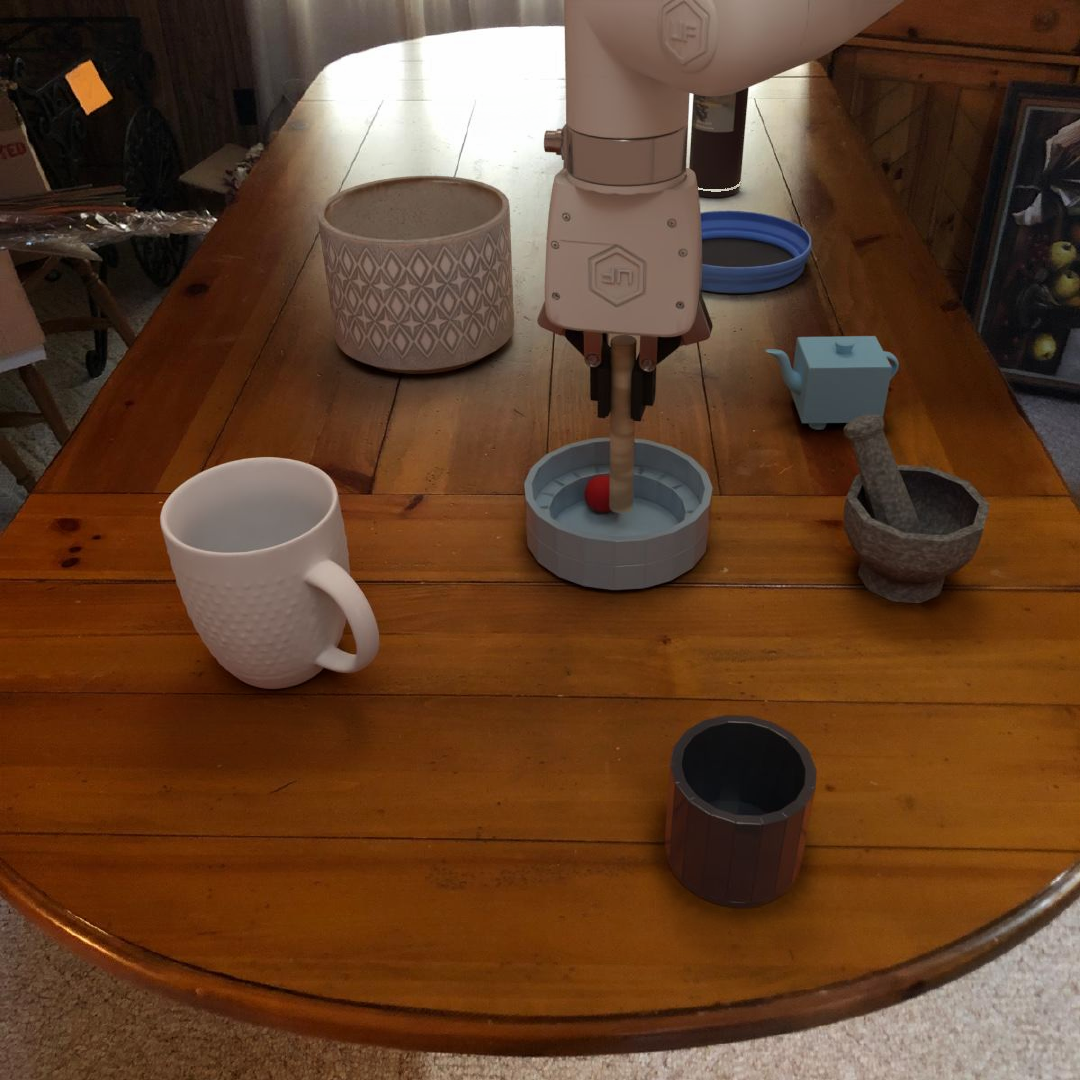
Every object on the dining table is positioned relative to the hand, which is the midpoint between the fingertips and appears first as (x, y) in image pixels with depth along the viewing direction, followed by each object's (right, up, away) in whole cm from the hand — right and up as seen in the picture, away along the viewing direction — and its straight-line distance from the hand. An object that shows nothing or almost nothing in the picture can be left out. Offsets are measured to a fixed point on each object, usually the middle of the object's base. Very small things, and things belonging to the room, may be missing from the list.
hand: (622, 409), depth 79 cm
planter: (-18, +11, +36) cm, 42 cm away
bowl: (+17, +23, +50) cm, 57 cm away
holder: (+5, -27, -17) cm, 32 cm away
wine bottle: (+18, +38, +71) cm, 83 cm away
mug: (-23, -18, -4) cm, 29 cm away
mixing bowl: (0, -9, +7) cm, 12 cm away
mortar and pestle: (+20, -12, +3) cm, 24 cm away
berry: (-1, -6, +9) cm, 10 cm away
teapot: (+20, +2, +22) cm, 30 cm away
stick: (0, -7, +5) cm, 9 cm away
